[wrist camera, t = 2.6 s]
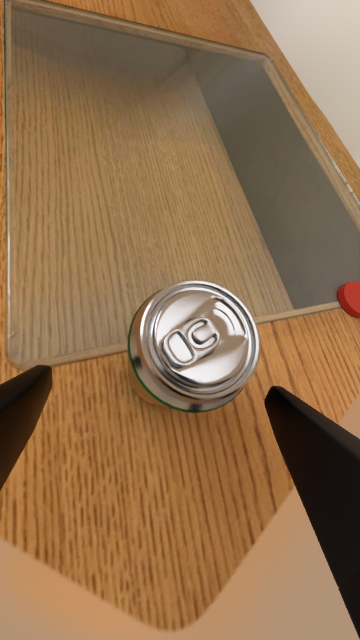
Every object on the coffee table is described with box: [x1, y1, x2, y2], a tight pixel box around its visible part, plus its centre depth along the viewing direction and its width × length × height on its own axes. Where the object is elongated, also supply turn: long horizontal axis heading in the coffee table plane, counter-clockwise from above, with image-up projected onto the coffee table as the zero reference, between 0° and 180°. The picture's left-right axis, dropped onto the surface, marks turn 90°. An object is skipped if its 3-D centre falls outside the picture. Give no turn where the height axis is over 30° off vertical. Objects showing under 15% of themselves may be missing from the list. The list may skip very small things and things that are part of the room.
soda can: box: [128, 279, 260, 413], centre depth 13 cm, size 5×5×12 cm
